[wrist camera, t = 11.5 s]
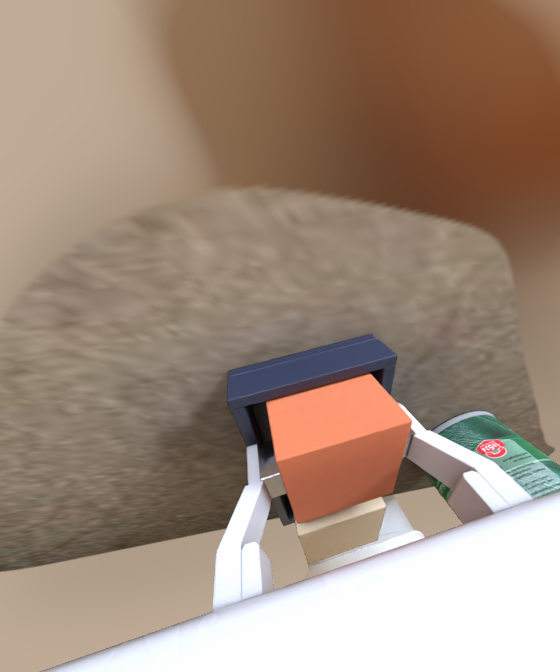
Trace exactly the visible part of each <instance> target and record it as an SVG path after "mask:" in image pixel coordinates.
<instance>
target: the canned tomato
mask: <svg viewBox="0 0 560 672" xmlns="http://www.w3.org/2000/svg"><path fill="white" fill-rule="evenodd" d="M432 432H434V433H436V434H438V435H440V436H442V437H444V438H446V439H448V440H450V441H452V442H454V443H456V444H458V445H460V446H462V447H465V448H467V449H469V450H471V451H473V452H475V453H477V454H479V455H481V456H483V457H485V458H487V459H489V460H491V461H493V462H495V463H496V464H497V465H498V466H499V467H500V468H501V469H502V470H503V471H504V472H505V473H507V474H508V475H509V476H510V477H511V478H512V479H513V480H514V481H515V482H516V483H517V484H518V485H519V486H521V487H522V488H523V489H524V490H525V491H526V492H527V493H528V494H529V495H530V496H531V497H532V498H533V499H537V498H540V497H543V496H546V495H549V494H552V493H555V492H557V491H560V465H558V464H557V463H555V462H554V461H552V460H551V459H550V458H548V457H547V456H546V455H545V454H544V453H542V452H540V451H539V450H538V449H536V448H535V447H534V446H532V445H531V444H530V443H529V442H527V441H526V440H524V439H523V438H522V437H520V436H519V435H518V434H517V433H515V432H514V431H512V430H511V429H510V428H508V427H507V426H505V425H504V424H503V423H501V422H500V421H499V420H497V419H496V418H495V416H493V415H492V414H490V413H488V412H484V411H475V412H470V413H466V414H463V415H460V416H457V417H455V418H453V419H451V420H449V421H447V422H445V423H443V424H442V425H440V426H439V427H437V428H436V429H434V430H433V431H432ZM421 469H422V468H421ZM422 470H423V469H422ZM423 471H424V473H425V474H426V475H427V477H428V478H429V480H430V481H431V483H432V484H433V485H434V486H435V487H436V489H437V490H438V491H439V493H440V495H441V496H442V497H444V499H445V500H446V502H447V500H448V497H449V495H450V494H451V492H452V489H450V488H449V487H447V486H446V485H445V484H443V483H442V482H440V481H439V480H438V479H436V478H435V477H433V476H432V475H430V474H429V473H428V472H426V471H425V470H423ZM447 503H448V502H447ZM448 505H449V504H448ZM449 506H450V505H449ZM452 510H453V509H452ZM455 514H456V513H455ZM457 517H458V516H457ZM458 518H459V517H458ZM461 522H462V521H461Z"/></svg>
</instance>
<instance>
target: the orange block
mask: <svg viewBox="0 0 560 672" xmlns="http://www.w3.org/2000/svg"><path fill="white" fill-rule="evenodd" d="M266 406H267V412H268V418H269V424H270V430H271V436H272V442H273V448H274V454H275V460H276V463H277V466H278V469H279V472H280V475H281V478H282V481H283V484H284V487H285V489H286V492H287V495H288V498H289V501H290V504H291V507H292V510H293V513H294V516H295V519H296V522H297V524H300V523H303V522H306V521H309V520H312V519H315V518H318V517H321V516H324V515H327V514H330V513H333V512H336V511H339V510H342V509H345V508H348V507H351V506H354V505H357V504H361V503H364V502H367V501H370V500H373V499H376V498H379V497H382V496H385V495H388V494H391V493H393V490H394V487H395V483H396V479H397V476H398V472H399V469H400V465H401V461H402V458H403V454H404V450H405V447H406V443H407V439H408V436H409V432H410V429H411V425H412V419H411V418H410V417H409V416H408V415H407V414H406V412H405V411H404V410H403V409H402V408H401V407H400V406H399V405H398V404H397V402H396V401H395V400H394V399H393V398H392V397H391V396H390V395H389V394H388V392H387V391H386V390H385V389H384V388H383V387H382V386H381V385H380V384H379V382H378V381H377V380H376V379H375V378H374V377H373V376H372V375H371V374H370V373H369V372H368V373H364V374H361V375H357V376H354V377H350V378H346V379H343V380H339V381H335V382H332V383H328V384H324V385H321V386H317V387H314V388H310V389H306V390H303V391H299V392H295V393H292V394H288V395H284V396H281V397H277V398H274V399H270V400H266Z"/></svg>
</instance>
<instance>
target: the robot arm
mask: <svg viewBox="0 0 560 672" xmlns="http://www.w3.org/2000/svg"><path fill="white" fill-rule="evenodd" d="M397 404H398V405H399V406H400V407H401V408H402V409H403V410H404V411H405V412H406V414H407V415H408V416H409V417H410V418H411V419H412V425H411V429H410V432H409V436H408V439H407V443H406V447H405V450H404V454H403V457H407V458H408V459H409V460H411V461H412V462H414V463H415V464H416V465H418V466H419V467H421V468H422V469H423V470H425V471H426V472H428V473H429V474H430V475H432V476H433V477H435V478H436V479H438V480H439V481H440V482H442V483H443V484H445V485H446V486H447V487H449V488H450V489H452V492H451V494H450V495H449V497H448V500H447V502H448V504H449V505H450V507H451V508H452V509H453V511H454V512H455V513H456V515H457V516H458V517H459V519H460V520H461V521H462V523H463V525H460V526H457V527H454V528H451V529H448V530H446V531H443V532H440V533H437V534H434V535H431V536H428V537H425V538H422V539H420V540H417V541H414V542H411V543H408V544H405V545H402V546H399V547H397V548H394V549H391V550H388V551H385V552H382V553H379V554H376V555H374V556H371V557H368V558H365V559H362V560H359V561H356V562H354V563H351V564H348V565H345V566H342V567H339V568H336V569H333V570H331V571H328V572H325V573H322V574H319V575H316V576H313V577H310V578H308V579H305V580H302V581H299V582H296V583H293V584H290V585H287V586H285V587H282V588H279V589H276V590H274V584H273V575H272V566H271V561H270V560H269V558H268V557H267V556H266V554H265V553H264V552H263V550H262V549H261V547H260V542H261V538H262V535H263V531H264V528H265V524H266V521H267V517H268V513H269V510H270V506H271V503H272V498H275V497H278V496H281V495H283V494H286V493H287V492H286V489H285V487H284V484H283V481H282V478H281V475H280V472H279V469H278V466H277V463H276V460H275V454H274V448H273V442H272V440H270V441H266V442H263V443H259V444H255V445H252V446H248V447H247V469H248V485H246V486H245V487H244V490H243V492H242V494H241V497H240V499H239V501H238V503H237V506H236V508H235V510H234V513H233V515H232V517H231V519H230V522H229V524H228V526H227V529H226V531H225V533H224V536H223V538H222V540H221V542H220V545H219V547H218V549H217V552H216V566H215V579H214V595H213V610H212V612H210V613H207V614H204V615H201V616H198V617H196V618H193V619H190V620H187V621H185V622H181V623H178V624H176V625H173V626H170V627H167V628H164V629H161V630H159V631H155V632H152V633H150V634H147V635H144V636H141V637H138V638H135V639H132V640H129V641H127V642H124V643H121V644H118V645H115V646H112V647H110V648H106V649H104V650H101V651H98V652H95V653H92V654H89V655H86V656H84V657H81V658H78V659H75V660H72V661H69V662H66V663H63V664H61V665H58V666H55V667H52V668H49V669H46V670H44V671H41V672H560V491H557V492H555V493H552V494H549V495H546V496H543V497H540V498H537V499H533V498H532V497H531V496H530V495H529V494H528V493H527V492H526V491H525V490H524V489H523V488H522V487H521V486H519V485H518V484H517V483H516V482H515V481H514V480H513V479H512V478H511V477H510V476H509V475H508V474H507V473H505V472H504V471H503V470H502V469H501V468H500V467H499V466H498V465H497V464H496V463H495V462H493V461H491V460H489V459H487V458H485V457H483V456H481V455H479V454H477V453H475V452H473V451H471V450H469V449H467V448H465V447H462V446H460V445H458V444H456V443H454V442H452V441H450V440H448V439H446V438H444V437H442V436H440V435H438V434H436V433H434V432H432V431H430V430H428V431H426V430H425V429H424V428H423V426H422V425H421V424H420V423H419V422H418V421H417V420H416V419H415V418H414V417H413V416H412V415H411V414H410V412H409V411H408V410H407V409H406V408H405V407H404V406H403V405H402V404H400V403H397Z"/></svg>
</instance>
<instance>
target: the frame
mask: <svg viewBox="0 0 560 672" xmlns="http://www.w3.org/2000/svg"><path fill="white" fill-rule="evenodd" d="M396 360H397V354H395V353H394V352H393V351H392V350H390V349H389V348H388V347H387V346H386V345H384V344H383V343H382V342H381V341H379V340H378V339H377V338H376V337H374V336H373V335H372V334H370V335H366V336H362V337H359V338H355V339H351V340H347V341H343V342H339V343H335V344H332V345H328V346H324V347H320V348H316V349H312V350H308V351H305V352H301V353H297V354H293V355H289V356H285V357H281V358H278V359H274V360H270V361H266V362H262V363H258V364H254V365H251V366H247V367H243V368H239V369H235V370H231V371H228V386H227V403H228V405H229V407H230V410H231V412H232V414H233V416H234V419H235V421H236V423H237V425H238V427H239V430H240V432H241V434H242V436H243V438H244V441H245V443H246V445H247V447H248V446H252V445H255V444H259V443H263V442H266V441H270V440H272V436H271V430H270V424H269V418H268V412H267V406H266V400H270V399H274V398H277V397H281V396H284V395H288V394H292V393H295V392H299V391H303V390H306V389H310V388H314V387H317V386H321V385H324V384H328V383H332V382H335V381H339V380H343V379H346V378H350V377H354V376H357V375H361V374H364V373H368V372H369V373H370V374H371V375H372V376H373V377H374V378H375V379H376V380H377V381H378V382H379V384H380V385H381V386H382V387H383V388H384V389H385V390H386V391H387V392H388V394H389V395H391V389H392V383H393V377H394V371H395V365H396ZM272 502H273V504H274V507H275V509H276V511H277V513H278V515H279V518H280V520H281V522H282V524H283V526H285V525H288V524H291V523H294V522H295V519H294V514H293V510H292V507H291V504H290V501H289V498H288V495H287V493H286V494H283V495H281V496H278V497H275V498H272Z"/></svg>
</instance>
